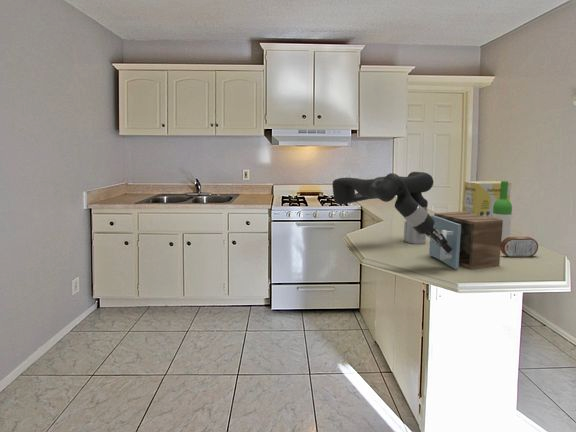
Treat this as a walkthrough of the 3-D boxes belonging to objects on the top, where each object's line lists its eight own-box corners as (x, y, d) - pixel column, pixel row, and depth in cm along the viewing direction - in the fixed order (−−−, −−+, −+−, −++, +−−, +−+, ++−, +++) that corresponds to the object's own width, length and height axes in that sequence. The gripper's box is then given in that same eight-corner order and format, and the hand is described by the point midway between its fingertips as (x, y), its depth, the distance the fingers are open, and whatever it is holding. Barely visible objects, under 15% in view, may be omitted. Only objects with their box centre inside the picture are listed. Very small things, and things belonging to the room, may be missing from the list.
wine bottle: (491, 244, 212) (496, 180, 208) (509, 246, 208) (515, 181, 203) (488, 247, 206) (493, 181, 201) (507, 249, 202) (513, 182, 197)
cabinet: (431, 255, 190) (434, 213, 187) (458, 252, 195) (460, 211, 192) (471, 269, 170) (474, 222, 167) (499, 265, 175) (503, 219, 172)
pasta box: (492, 235, 232) (496, 181, 227) (506, 240, 222) (511, 182, 217) (460, 237, 227) (464, 181, 223) (473, 241, 217) (477, 183, 213)
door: (419, 254, 189) (421, 215, 186) (431, 254, 189) (434, 215, 187) (444, 268, 168) (446, 225, 165) (458, 268, 169) (461, 224, 166)
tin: (534, 255, 191) (536, 236, 190) (538, 257, 188) (540, 237, 187) (499, 255, 191) (500, 236, 189) (502, 257, 188) (504, 237, 186)
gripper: (404, 222, 174) (433, 253, 177) (418, 229, 160) (449, 262, 164) (418, 208, 174) (447, 239, 177) (434, 214, 160) (464, 247, 164)
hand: (448, 250), depth 170 cm, fingers closed on door, 2 cm apart
